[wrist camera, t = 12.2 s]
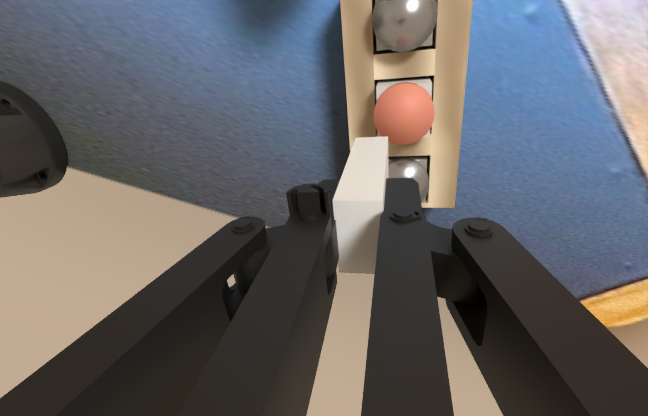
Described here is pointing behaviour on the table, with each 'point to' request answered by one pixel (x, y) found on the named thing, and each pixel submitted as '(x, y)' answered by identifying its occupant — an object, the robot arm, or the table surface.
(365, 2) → the housing
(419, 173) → the plug
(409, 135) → the plug red
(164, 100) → the table surface
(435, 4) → the plug
